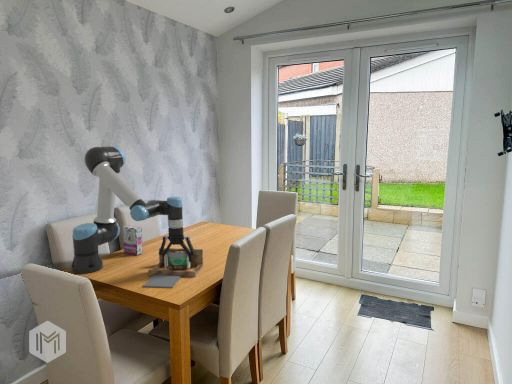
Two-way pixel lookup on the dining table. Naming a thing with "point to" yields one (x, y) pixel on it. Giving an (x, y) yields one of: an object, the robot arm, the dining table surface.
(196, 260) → the wooden frame
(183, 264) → the food container
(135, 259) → the dining table surface
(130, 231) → the candy bar box
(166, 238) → the robot arm
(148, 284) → the mat
